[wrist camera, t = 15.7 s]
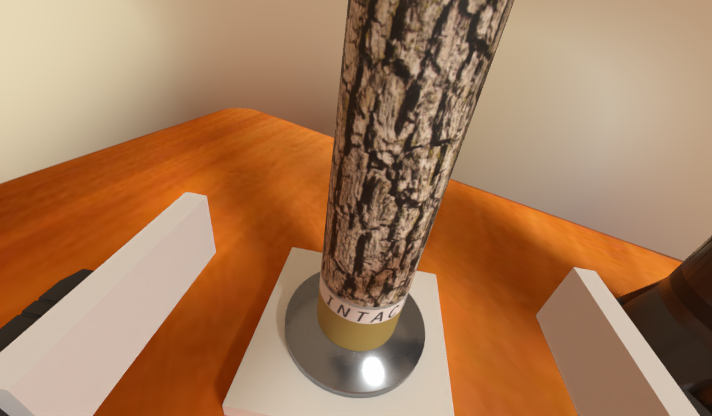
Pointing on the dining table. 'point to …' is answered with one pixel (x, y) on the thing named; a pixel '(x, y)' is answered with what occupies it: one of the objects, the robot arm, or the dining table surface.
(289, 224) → the dining table surface
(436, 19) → the paper tube
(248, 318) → the dining table surface
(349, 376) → the domed button base
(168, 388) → the dining table surface
